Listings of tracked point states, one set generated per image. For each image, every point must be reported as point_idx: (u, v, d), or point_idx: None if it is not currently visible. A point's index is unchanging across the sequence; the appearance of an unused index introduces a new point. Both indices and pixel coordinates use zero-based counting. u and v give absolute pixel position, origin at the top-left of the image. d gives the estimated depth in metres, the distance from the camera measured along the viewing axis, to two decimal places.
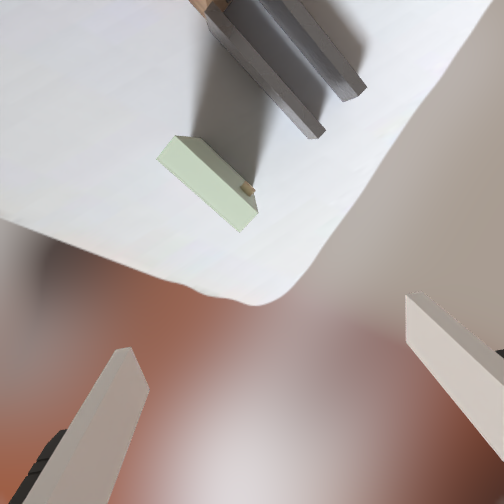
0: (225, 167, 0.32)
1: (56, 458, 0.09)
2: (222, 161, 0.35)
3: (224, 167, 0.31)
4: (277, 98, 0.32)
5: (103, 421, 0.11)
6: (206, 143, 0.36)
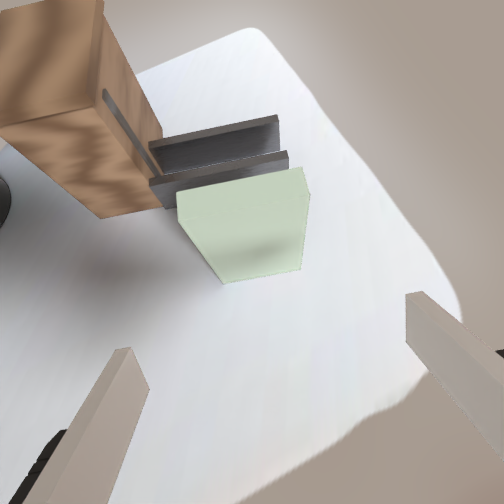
0: None
1: (56, 458, 0.09)
2: None
3: None
4: None
5: (103, 420, 0.11)
6: None
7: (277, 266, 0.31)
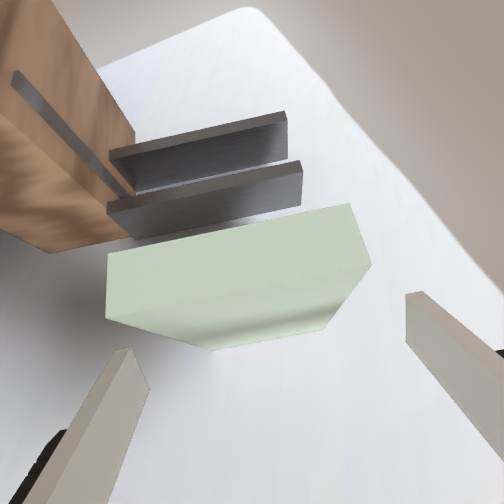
0: None
1: (56, 458, 0.09)
2: None
3: None
4: (232, 200, 0.25)
5: (103, 420, 0.11)
6: None
7: (291, 332, 0.21)
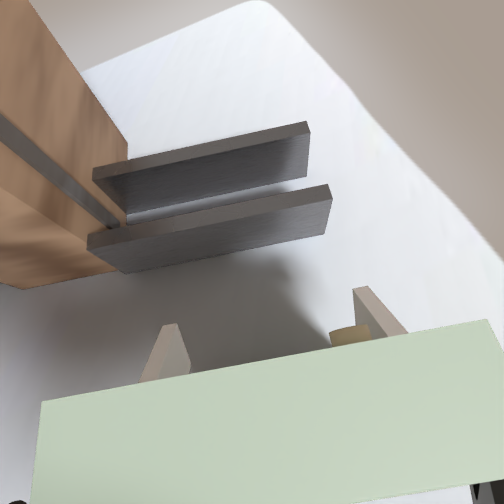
0: None
1: None
2: None
3: None
4: (243, 231, 0.20)
5: None
6: None
7: None
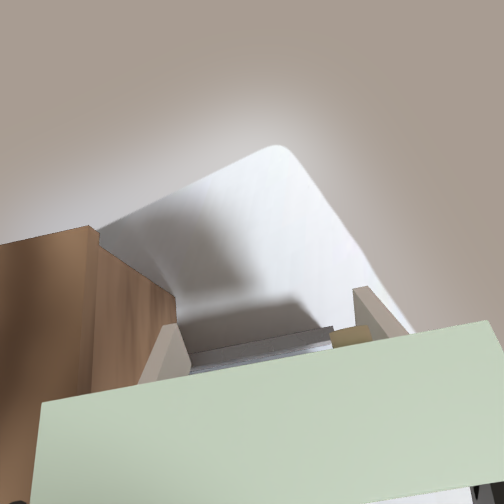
0: None
1: None
2: None
3: None
4: None
5: None
6: None
7: None
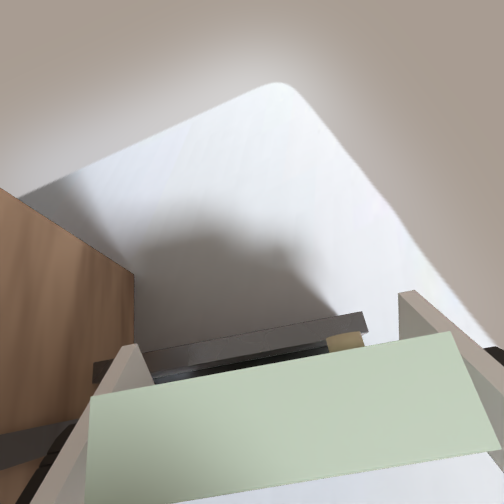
0: None
1: (67, 451, 0.09)
2: None
3: None
4: None
5: None
6: None
7: None
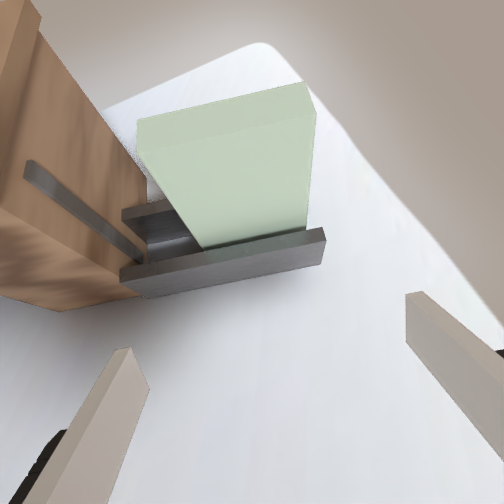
0: None
1: (56, 458, 0.09)
2: None
3: None
4: (250, 265, 0.24)
5: (103, 420, 0.11)
6: None
7: None
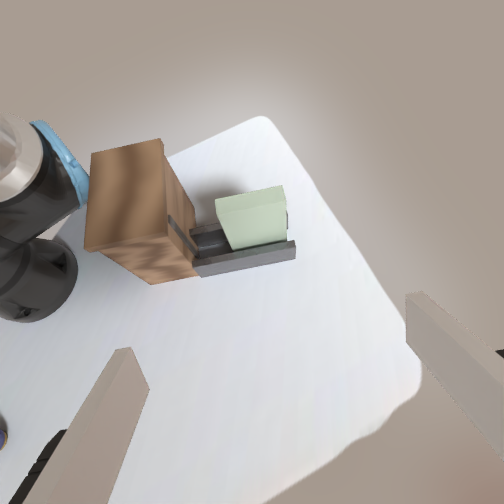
0: None
1: (56, 458, 0.09)
2: None
3: None
4: (258, 259, 0.46)
5: (103, 420, 0.11)
6: None
7: None
